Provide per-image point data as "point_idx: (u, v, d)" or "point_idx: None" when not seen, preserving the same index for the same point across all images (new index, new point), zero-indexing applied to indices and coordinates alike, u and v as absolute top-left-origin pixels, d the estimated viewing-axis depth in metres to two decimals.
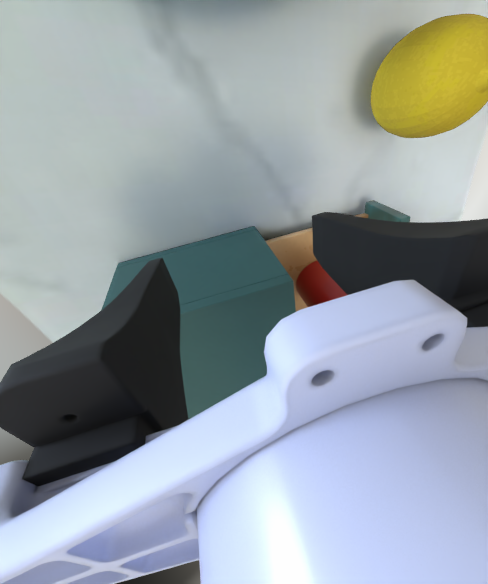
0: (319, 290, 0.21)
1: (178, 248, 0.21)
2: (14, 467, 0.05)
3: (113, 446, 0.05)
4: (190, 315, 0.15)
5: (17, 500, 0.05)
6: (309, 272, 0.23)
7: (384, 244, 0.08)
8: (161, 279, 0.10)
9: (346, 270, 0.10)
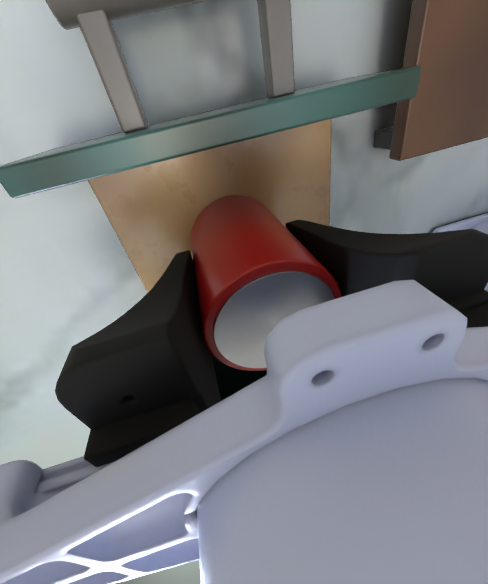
0: None
1: None
2: (14, 467, 0.05)
3: (171, 427, 0.05)
4: None
5: (17, 500, 0.05)
6: None
7: (345, 256, 0.08)
8: (191, 270, 0.10)
9: None
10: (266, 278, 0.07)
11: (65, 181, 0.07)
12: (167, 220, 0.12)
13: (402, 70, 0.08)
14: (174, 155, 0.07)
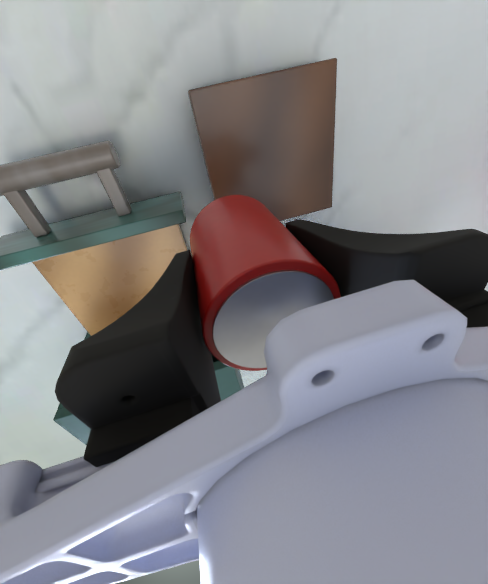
0: None
1: None
2: (14, 467, 0.05)
3: (171, 427, 0.05)
4: None
5: (17, 500, 0.05)
6: None
7: (345, 256, 0.08)
8: (191, 270, 0.10)
9: None
10: (265, 277, 0.07)
11: None
12: (79, 271, 0.20)
13: (172, 212, 0.15)
14: (55, 255, 0.15)
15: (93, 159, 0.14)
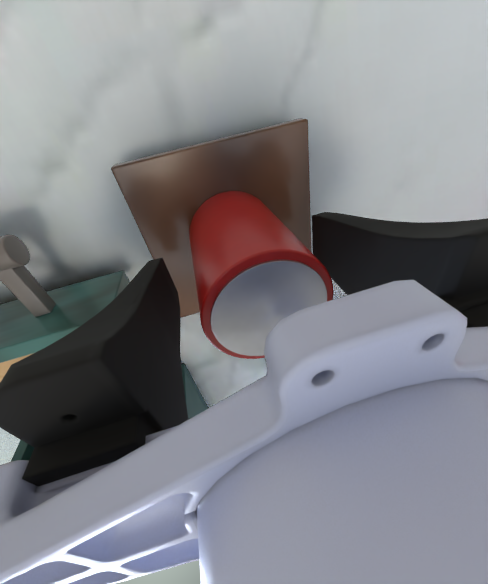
0: None
1: None
2: (14, 467, 0.05)
3: (113, 446, 0.05)
4: None
5: (17, 500, 0.05)
6: None
7: (384, 244, 0.08)
8: (161, 279, 0.10)
9: (346, 270, 0.10)
10: (260, 266, 0.07)
11: None
12: (6, 362, 0.16)
13: None
14: None
15: None
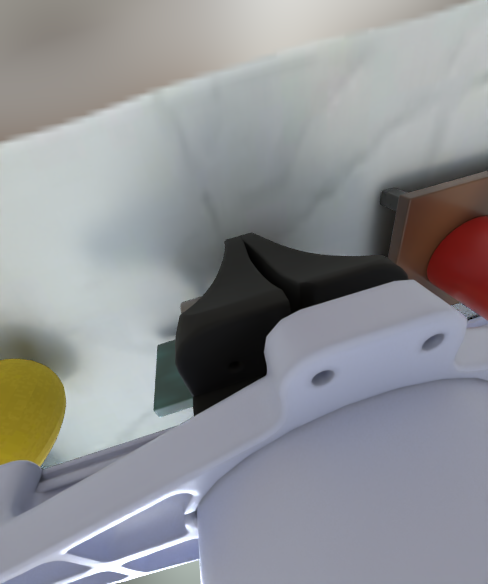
0: (483, 317, 0.13)
1: None
2: (14, 467, 0.05)
3: None
4: None
5: (17, 500, 0.05)
6: (441, 288, 0.15)
7: (274, 276, 0.07)
8: None
9: None
10: None
11: (189, 407, 0.13)
12: None
13: None
14: None
15: None
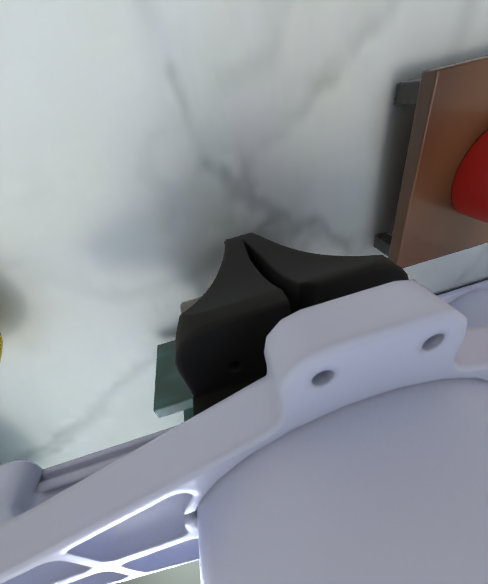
0: None
1: None
2: (14, 467, 0.05)
3: None
4: None
5: (17, 500, 0.05)
6: (470, 209, 0.12)
7: (274, 276, 0.07)
8: None
9: None
10: None
11: None
12: None
13: None
14: None
15: None
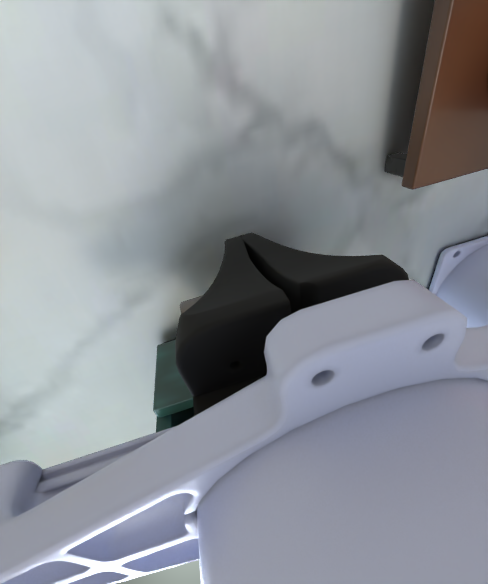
0: None
1: None
2: (14, 467, 0.05)
3: None
4: None
5: (17, 500, 0.05)
6: None
7: (274, 276, 0.07)
8: None
9: None
10: None
11: None
12: None
13: None
14: None
15: None
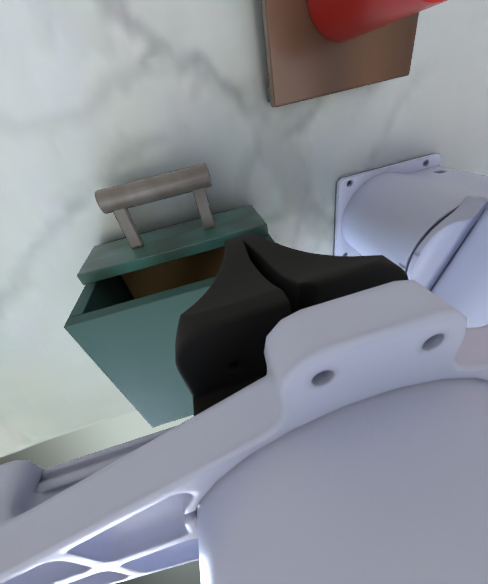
0: (351, 8, 0.11)
1: None
2: (14, 467, 0.05)
3: None
4: (124, 389, 0.18)
5: (17, 500, 0.05)
6: (321, 17, 0.13)
7: (274, 277, 0.07)
8: None
9: None
10: None
11: (106, 277, 0.16)
12: (155, 277, 0.21)
13: (257, 226, 0.17)
14: (154, 265, 0.17)
15: (193, 180, 0.16)
